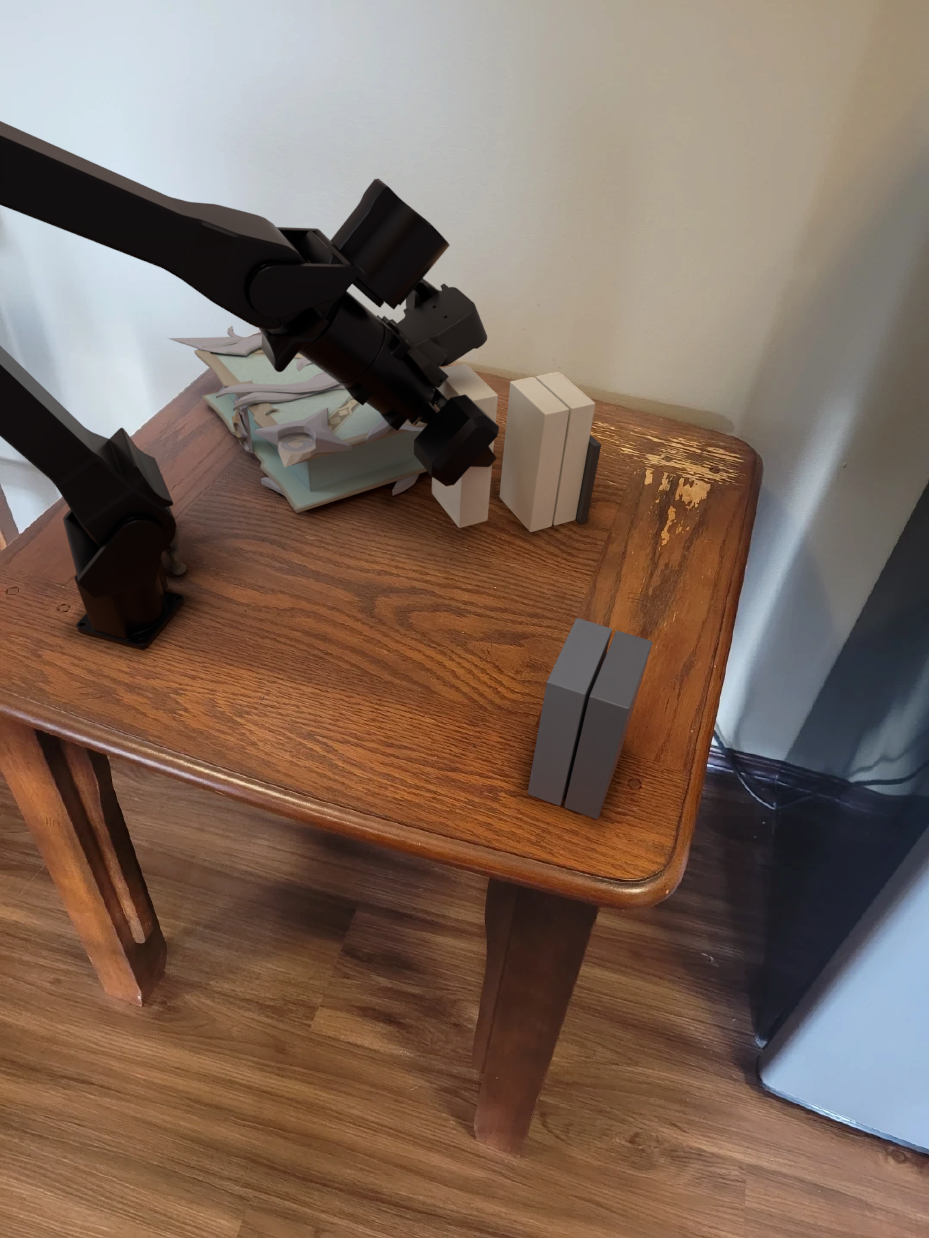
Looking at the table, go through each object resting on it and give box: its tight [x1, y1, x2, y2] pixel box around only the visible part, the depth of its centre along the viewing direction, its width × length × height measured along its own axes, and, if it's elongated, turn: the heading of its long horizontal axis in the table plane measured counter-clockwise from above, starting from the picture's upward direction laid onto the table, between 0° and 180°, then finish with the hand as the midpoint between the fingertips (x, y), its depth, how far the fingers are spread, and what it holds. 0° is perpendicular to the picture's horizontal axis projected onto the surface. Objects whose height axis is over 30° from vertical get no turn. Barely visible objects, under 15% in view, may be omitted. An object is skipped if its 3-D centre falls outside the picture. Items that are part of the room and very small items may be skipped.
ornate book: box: [167, 325, 428, 514], centre depth 91 cm, size 23×10×30 cm
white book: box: [431, 363, 499, 529], centre depth 76 cm, size 3×6×13 cm, turn 27°
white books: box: [499, 371, 602, 533], centre depth 81 cm, size 6×8×13 cm
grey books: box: [527, 617, 654, 820], centre depth 58 cm, size 5×6×12 cm
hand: (476, 444), depth 77 cm, fingers closed on white book, 6 cm apart
